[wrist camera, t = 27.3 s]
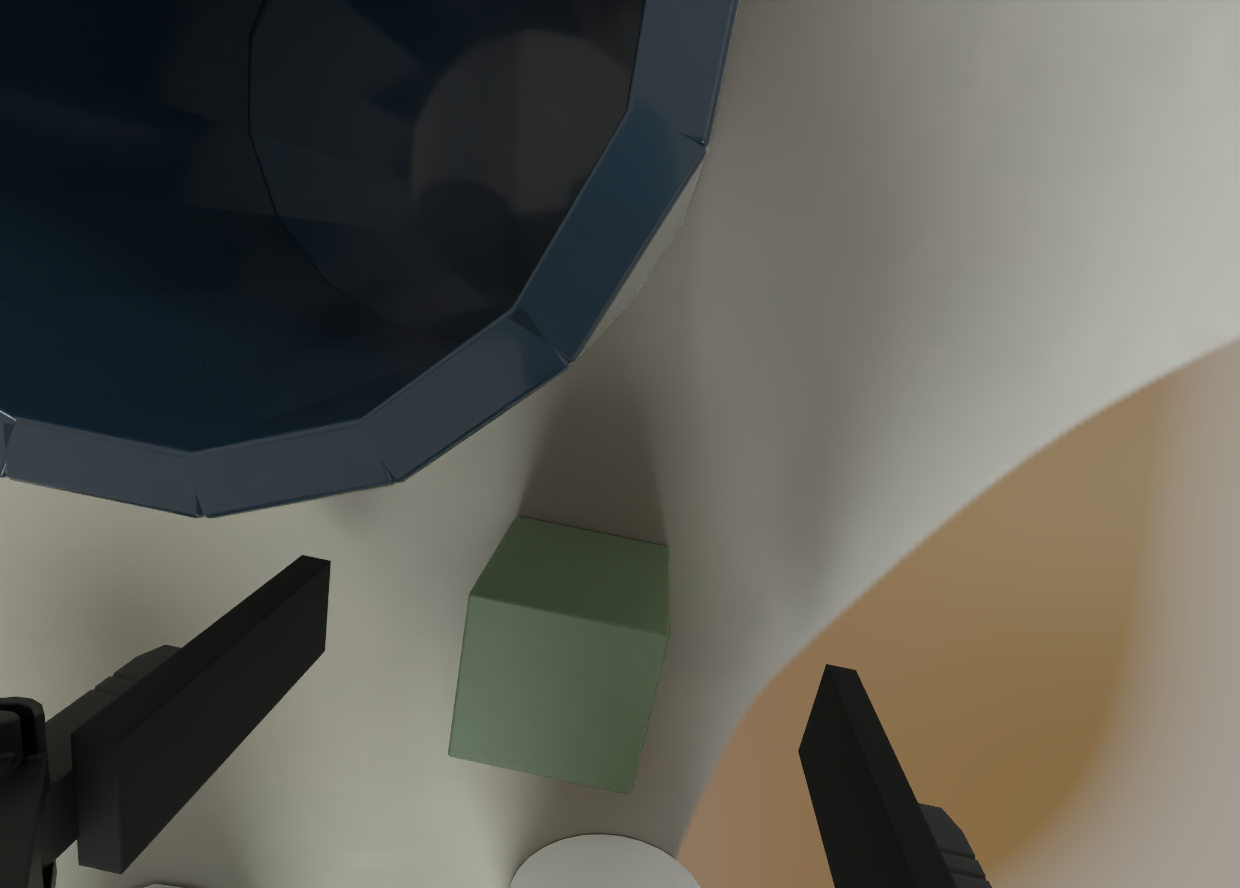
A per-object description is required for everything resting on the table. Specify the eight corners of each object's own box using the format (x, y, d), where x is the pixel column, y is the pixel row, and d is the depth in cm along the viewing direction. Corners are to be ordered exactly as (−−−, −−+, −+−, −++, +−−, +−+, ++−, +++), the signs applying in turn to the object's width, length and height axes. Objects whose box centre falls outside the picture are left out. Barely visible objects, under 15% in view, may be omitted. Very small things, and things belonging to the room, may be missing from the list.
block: (516, 514, 18) (468, 592, 14) (669, 545, 18) (670, 634, 14) (496, 647, 19) (446, 757, 15) (639, 677, 19) (631, 796, 15)
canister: (233, -205, 14) (-919, -1444, 4) (751, -111, 14) (985, -1168, 4) (229, 320, 17) (-395, 399, 7) (647, 403, 17) (614, 607, 7)
